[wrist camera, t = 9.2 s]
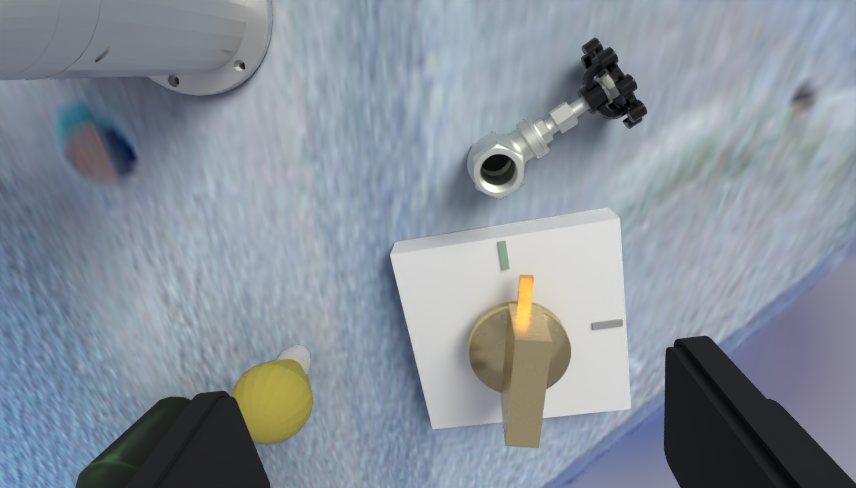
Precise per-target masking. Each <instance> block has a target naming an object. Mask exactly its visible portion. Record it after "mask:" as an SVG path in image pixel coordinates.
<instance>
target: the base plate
mask: <svg viewBox="0 0 856 488" xmlns="http://www.w3.org/2000/svg"><path fill="white" fill-rule="evenodd" d="M390 257H391V261H392V265H393V269H394V274H395V278H396V282H397V286H398V290H399V294H400V298H401V302H402V306H403V310H404V315H405V319H406V323H407V327H408V331H409V335H410V339H411V343H412V347H413V351H414V355H415V360H416V364H417V368H418V372H419V376H420V380H421V384H422V388H423V392H424V396H425V401H426V405H427V409H428V413H429V417H430V421H431V425H432V429H442V428H452V427H461V426H471V425H481V424H490V423H500V422H503V419H502V410H501V393H500V392H497V391H495V390H493V389H491V388H489V387H488V386H486V385H485V384H484V383H482V382H481V381H480V380H479V379H478V377H477V376H476V375H475V373H474V371H473V369H472V367H471V364H470V359H469V337H470V333H471V330H472V328H473V326H474V324H475V323H476V321H477V320H478V319H479V317H480V316H481V315H483V314H484V313H485V312H486V311H488V310H489V309H491V308H493V307H494V306H497V305H499V304H502V303H506V302H511V301H517V297H518V286H519V275H520V274H521V275H533V277H534V284H533V293H532V303H536V304H539V305H541V306H543V307H545V308H547V309H549V310H550V311H552V312H553V313H554V314H555V315H556V316H557V317H558V318H559V319H560V321H561V322H562V324H563V326H564V328H565V330H566V333H567V336H568V338H569V341H570V345H571V359H570V363H569V366H568V368H567V370H566V372H565V374H564V375H563V376H562V378H561V379H560V380H559V381H558V382H557V383H555V384H554V385H553V386H551V387H550V388H548V389H546V395H545V403H544V410H543V418H548V417H558V416H568V415H578V414H587V413H597V412H607V411H616V410H626V409H631V400H630V383H629V366H628V349H627V332H626V315H625V298H624V280H623V263H622V246H621V229H620V218H619V217H618V216H617V215H616V214H615V213H614V212H613V211H612V210H611V209H610V208H609V207H608V208H602V209H596V210H589V211H583V212H577V213H571V214H565V215H559V216H552V217H546V218H540V219H534V220H528V221H522V222H515V223H509V224H503V225H497V226H491V227H485V228H478V229H472V230H466V231H460V232H454V233H448V234H441V235H435V236H429V237H423V238H417V239H411V240H404V241H398V242H395V244H394V246H393V249H392V251H391V254H390Z"/></svg>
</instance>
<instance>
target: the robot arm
mask: <svg viewBox="0 0 856 488" xmlns="http://www.w3.org/2000/svg"><path fill="white" fill-rule="evenodd" d="M272 22H273V15H272V1H271V0H0V80H38V79H70V78H101V77H133V76H147V77H148V78H150V79H151V80H152V81H154V82H155V83H157V84H159V85H161V86H163V87H165V88H167V89H169V90H172V91H175V92H178V93H182V94H186V95H196V96H204V95H214V94H218V93H223V92H227V91H229V90H231V89H233V88H235V87H237V86H239V85H240V84H242V83H243V82H244V81H245V80H247V79H248V78H249V77H250V76H251V75H252V74H253V73H254V71H255V70H256V69H257V68H258V67H259V65H260V63H261V61H262V59H263V58H264V56H265V54H266V52H267V48H268V45H269V41H270V38H271V32H272ZM243 63H244V64H245V69H243V67H242V64H243ZM178 79H179V82H178ZM664 422H665V423H664V451H665V455H666V459H667V462H668V465H669V467H670V469H671V471H672V473H673V474H674V476H675V478H676V480H677V482H678V484H679V486H680V487H681V488H856V484H855V482H854V481H853V480H852V479H851V478H850V477H849V476H848V475H847V474H846V473H845V472H844V471H843V470H842V469H841V468H840V467H839V466H838V465H837V464H836V463H835V461H834V460H833V459H832V458H831V457H830V456H829V455H828V454H827V453H826V452H825V451H824V450H823V449H822V448H821V447H820V446H819V445H818V444H817V442H816V441H815V440H814V439H813V438H812V437H811V436H810V435H809V434H808V433H807V432H806V431H805V430H804V429H803V428H802V427H801V426H800V425H799V423H798V422H797V421H796V420H795V419H794V418H793V417H792V416H791V415H790V414H789V413H788V412H787V411H786V410H785V409H784V408H783V407H782V406H781V405H780V404H779V403H777V402H776V401H774V400H771V399H766V398H765V397H764V396H763V395H762V393H761V392H760V391H759V390H758V389H757V388H756V387H755V386H754V385H753V384H752V383H751V381H750V380H749V379H748V378H747V377H746V376H745V375H744V374H743V373H742V372H741V371H740V370H739V368H738V367H737V366H736V365H735V364H734V363H733V362H732V361H731V360H730V359H729V358H728V357H727V355H726V354H725V353H724V352H723V351H722V350H721V349H720V348H719V347H718V346H717V345H716V344H715V342H714V341H713V340H712V339H711V338H709V337H708V336H699V337H690V338H681V339H677V340H675V342H674V347H668V348H667V349H666V358H665V419H664ZM125 488H270V483H269V480H268V478H267V475H266V473H265V470H264V468H263V465H262V463H261V460H260V458H259V455H258V453H257V450H256V448H255V445H254V443H253V440H252V438H251V435H250V433H249V430H248V428H247V425H246V423H245V420H244V418H243V415H242V413H241V410H240V408H239V405H238V403H237V401H236V399H235V398H234V397H230V396H229V394H228V393H227V392H226V391H216V392H208V393H200V394H197V395H196V396H195V397H194V398H193V399H192V400H191V402H190V403H189V404H188V406H187V407H186V408H185V410H184V411H183V412H182V414H181V415H180V416H179V417H178V419H177V420H176V421H175V423H174V424H173V425H172V427H171V428H170V429H169V431H168V432H167V433H166V435H165V436H164V437H163V438H162V440H161V441H160V442H159V444H158V445H157V446H156V448H155V449H154V450H153V452H152V453H151V454H150V456H149V457H148V458H147V459H146V461H145V462H144V463H143V465H142V466H141V467H140V469H139V470H138V471H137V473H136V474H135V475H134V477H133V478H132V479H131V480H130V482H129V483H128V484H127V486H126V487H125Z"/></svg>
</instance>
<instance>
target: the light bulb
mask: <svg viewBox="0 0 856 488" xmlns="http://www.w3.org/2000/svg"><path fill="white" fill-rule="evenodd" d="M310 359H311V355H310V352H309V351H308V349H307V348H305V347H304V346H301V345H294V346H292V347H290V348H289V349H285V350H284V351H282V352H281V354H280V355H279V357H278V358H277V360H274V361H270V362H267V363H264V364H261V365H258V366H255V367H253V368H251V369H250V370H248V371H247V372H245V373H244V374H243V375H242V376H241V378H240V379H239V381H238V382H237V384H236V385H235V387H234V389H233V392H232V395H231V397H234V398H235V399H236V401H237V403H238V405H239V408H240V410H241V413H242V415H243V418H244V420H245V423H246V425H247V428H248V430H249V433H250V435H251V438H252V440H253V441H254V442H257V443H261V444H273V443H277V442H282V441H284V440H286V439H288V438H290V437H291V436H293V435H294V434H296V433H297V432H298V431H299V430H300V429H301V428H302V426H303V425H304V424H305V423H306V421H307V420H308V418H309V416H310V413H311V409H312V405H313V399H312V392H311V388H310V383H309V379H308V377H307V375H308V373H309V371H310V369H311V360H310Z"/></svg>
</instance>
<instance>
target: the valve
mask: <svg viewBox="0 0 856 488" xmlns="http://www.w3.org/2000/svg"><path fill="white" fill-rule="evenodd" d="M582 51H583V53H584V54H585V55H584V56H582V57H581V61H582V63H583V65H584V67H585V68H586V69H588V70H587V71H586V73H585V74H584V77H583V86H584V87H582V88H581V89H579V90H578V95H579V97H580V98H579V99H578V100H576V101H575V102H573V103H572V104H570V105H568V103H567V102H563V103H561V104H560V105H559V106H557V107H556V108H554V109H553V110H551V111H550V112H548V114H549V116H550V117H549V118H548V119H546V120H544V121H543V120H541V119H538V120H537V121H535V122H534V123H532V121H531V120H530V119H529V118H528V117H526V118H525V119H524V120H522V121H521V122H519V123H518V124H516V127H517V130H516V131H514V132H513V133H511V134H510V135H507V136H506V135H501V134H496V133H494V132H490V133H489V134H488V135H486V136H485V137H483V138H481V139H480V140H479V141H477V142H476V143H475V144H473V145H472V148H471V150H470V152H469V155H468V160H467V168H468V172H469V175H470V177H471V179H472V180H473V182H474V183H475V189H477V190H479V191H481V192H483V193H485V194H487V195H490V196H492V197H494V198H497V199H499V200H501V199H503V198H504V197H506V196H508V195H509V194H511V193H512V192H514V191H515V190H517V189H518V188H520V187H521V186H522V185H524V167H525V163H526V162H527V161H528V160H530V159H531V158H533V157H536V158H537V159H540V158H541V157H543V156H544V155H546V154H547V153H549V152H550V150H549V148H548V146H547V144H548V143H549V142H551V141H552V140H553V134H554V133H556V132H557V131H560V132H561V133H562V134H563V133H564V132H566V131H567V130H569V129H570V128H572V127H573V126H575V125H576V124H578V119H577V117H578V116H579V115H581V114H582V113H584V112H585V111H587V110H588V111H589V112H590V113H591V114H595V113H597V112H599V113H600V114H601V116H603V117H604V118H607V119H618V118H620V117H622V116H624V115H625V114H627V116H628V118H626V119H625V120H623V123H624V124H625V126H626V127H627V128H628V129H630V128H632V127H633V126H635V125H637V124H638V123H640V122H641V121H642V117H643V116H644V115H646V114H647V109H646V107H645V106H644V104H643V103H642V102H641V101H640V100H637V99H636V97H635V96H634V93H633V91H635V90H636V89H637V84H636V82H635V80H634V79H633V77H632V76H631V75H629V74H627V75H624V74H623V73H622V71H621V70H620V68H619V67H618V65H617V63H618V57H617V55H616V53H615V52H614V50H613V49H612V48H610V47H608V48H607V49H605V50H604V51H603V47H602V45H601V43H600V42H599V40H598V39H597V38H593V39H592V40H590V41H589V42H587V43H586V44H585V45H583V46H582ZM606 72H607V73H606ZM595 76H596V78H595V79H594V77H595ZM606 106H608V108H609V109H608V108H607V107H606ZM495 154H504V155H507V156H508V157H509V159H508V162H507V164H506V165H505V166H504V167H503V168H502V169H500V170H498V171H488V170H486V169H484V168H483V167H482V164H483V162H484V161H485V160H486V159H487V158H488V157H490V156H492V155H495Z"/></svg>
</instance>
